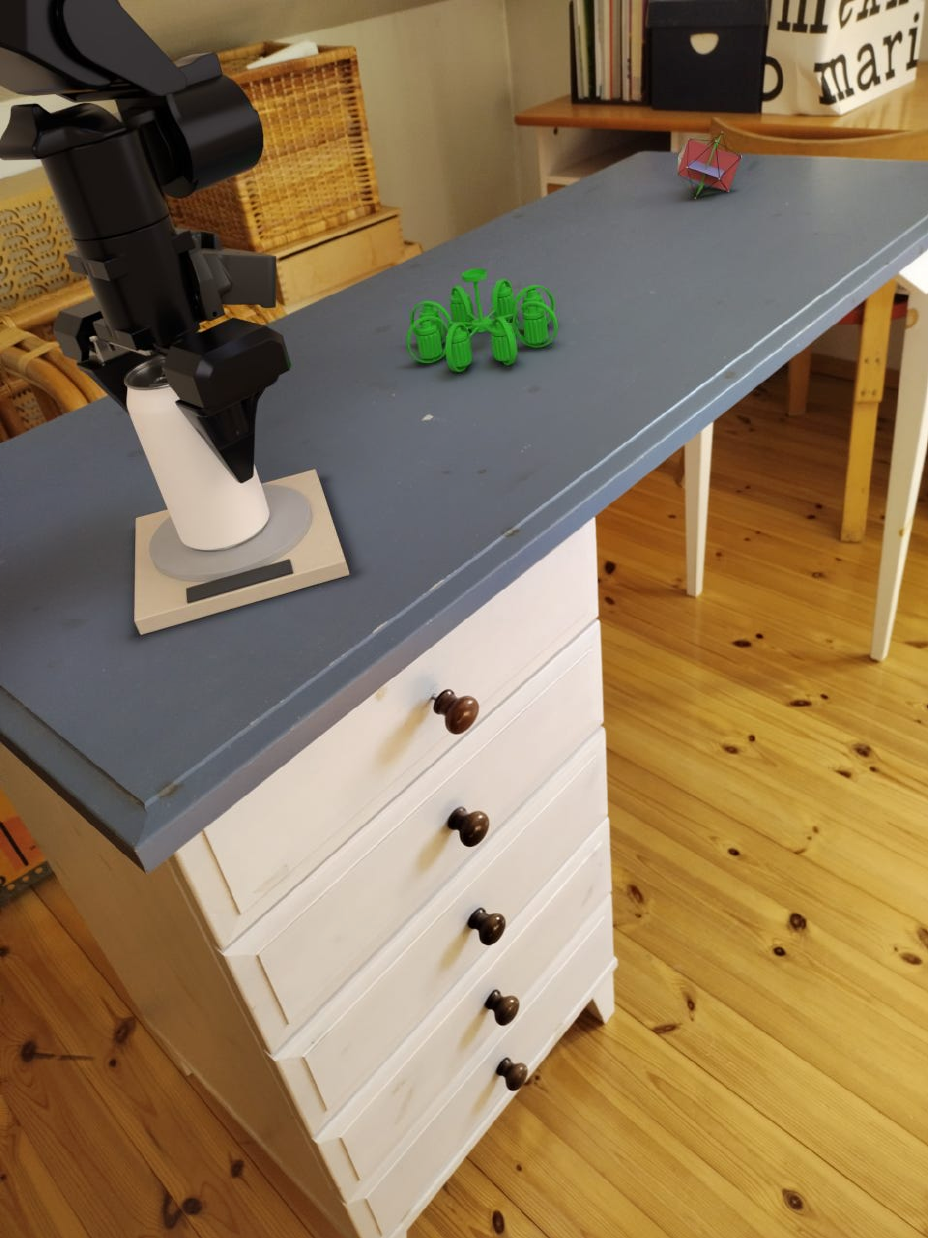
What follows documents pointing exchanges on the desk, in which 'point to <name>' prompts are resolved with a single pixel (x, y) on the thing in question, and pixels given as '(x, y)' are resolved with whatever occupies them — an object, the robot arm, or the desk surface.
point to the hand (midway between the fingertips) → (207, 463)
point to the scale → (236, 559)
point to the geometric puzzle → (707, 164)
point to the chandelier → (481, 323)
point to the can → (191, 468)
